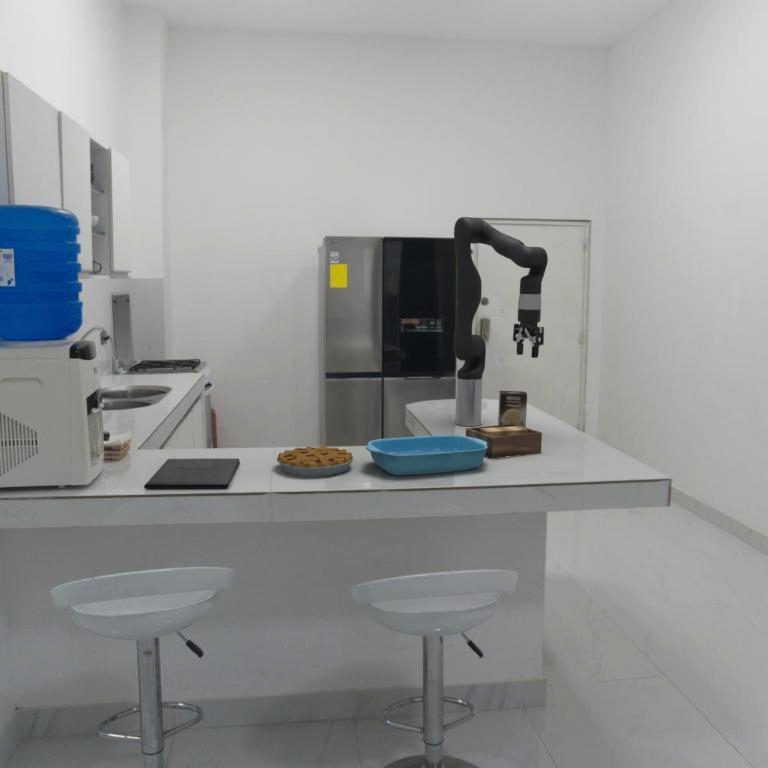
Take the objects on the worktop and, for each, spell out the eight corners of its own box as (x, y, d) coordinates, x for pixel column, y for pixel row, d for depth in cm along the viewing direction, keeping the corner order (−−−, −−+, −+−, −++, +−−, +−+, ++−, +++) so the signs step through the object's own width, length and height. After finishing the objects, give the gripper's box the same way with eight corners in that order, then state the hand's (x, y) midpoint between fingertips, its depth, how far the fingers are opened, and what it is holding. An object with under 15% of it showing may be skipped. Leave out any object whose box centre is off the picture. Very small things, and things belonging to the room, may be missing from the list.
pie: (367, 472, 210) (367, 455, 209) (297, 483, 198) (296, 465, 198) (331, 456, 228) (331, 440, 227) (264, 465, 217) (264, 448, 216)
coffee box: (498, 440, 250) (499, 393, 247) (497, 436, 256) (498, 390, 253) (525, 441, 249) (527, 393, 246) (524, 437, 255) (525, 390, 253)
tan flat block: (519, 435, 239) (520, 426, 239) (527, 438, 234) (527, 429, 234) (479, 437, 235) (479, 428, 235) (486, 441, 230) (486, 431, 230)
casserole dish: (466, 453, 233) (467, 430, 232) (501, 470, 212) (502, 446, 211) (355, 463, 220) (355, 439, 219) (381, 482, 200) (381, 457, 198)
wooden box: (465, 448, 238) (466, 428, 237) (512, 442, 246) (513, 423, 245) (492, 458, 225) (492, 437, 224) (541, 452, 233) (541, 432, 232)
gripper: (551, 309, 241) (549, 358, 244) (526, 306, 254) (524, 353, 257) (532, 309, 238) (530, 359, 241) (507, 306, 251) (505, 354, 254)
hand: (527, 356), depth 249 cm, fingers open, 8 cm apart
